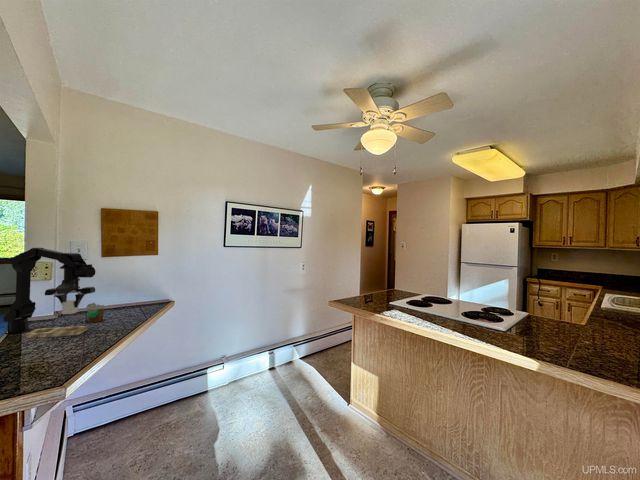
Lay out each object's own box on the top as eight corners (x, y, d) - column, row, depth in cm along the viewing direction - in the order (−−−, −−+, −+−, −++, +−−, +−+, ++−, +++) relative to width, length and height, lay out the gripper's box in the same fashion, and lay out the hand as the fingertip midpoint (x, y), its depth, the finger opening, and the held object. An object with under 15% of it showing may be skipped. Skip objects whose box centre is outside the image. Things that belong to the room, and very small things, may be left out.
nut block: (62, 314, 134) (62, 302, 135) (67, 312, 139) (67, 300, 139) (73, 313, 136) (73, 301, 136) (78, 311, 140) (78, 300, 140)
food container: (81, 321, 158) (81, 304, 158) (93, 319, 163) (94, 302, 163) (91, 324, 152) (91, 307, 152) (103, 322, 157) (104, 305, 158)
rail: (24, 338, 128) (25, 334, 128) (37, 332, 137) (37, 328, 137) (78, 334, 135) (78, 330, 135) (87, 329, 143) (87, 325, 143)
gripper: (37, 279, 127) (36, 312, 127) (85, 278, 133) (84, 309, 133) (52, 277, 138) (51, 307, 137) (96, 276, 144) (95, 305, 143)
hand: (70, 307), depth 137 cm, fingers closed on nut block, 5 cm apart
